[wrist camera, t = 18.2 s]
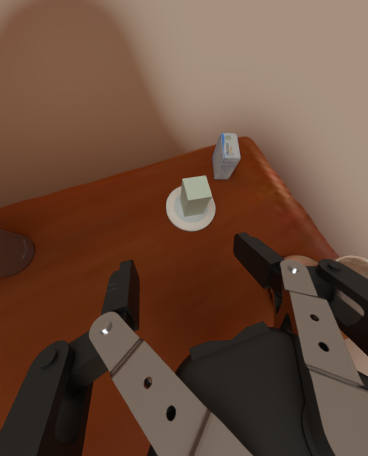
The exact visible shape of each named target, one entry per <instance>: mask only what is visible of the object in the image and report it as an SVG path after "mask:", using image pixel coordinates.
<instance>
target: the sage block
mask: <svg viewBox="0 0 368 456" xmlns="http://www.w3.org/2000/svg"><path fill="white" fill-rule="evenodd" d="M211 198H212V194H211V191H210V188H209V185H208V181H207V178H206V176H199V177H192V178H185V179H183V180H182V188H181V196H180V202H181V206H182V210H183V214H184V217H187V216H193V215H198V214H203V213H204V211H205V209H206V207H207V205H208V203H209V201H210V200H211Z"/></svg>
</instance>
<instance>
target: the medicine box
mask: <svg viewBox="0 0 368 456" xmlns="http://www.w3.org/2000/svg"><path fill="white" fill-rule="evenodd" d="M239 160H240V152H239V145H238V139H237V135H236V134H231V133H221V134H220V136H219V139H218V142H217V145H216V148H215V150H214V153H213V156H212V161H213V170H214V179H229V177H230V176H231V174H232V172H233V170H234V169H235V167H236V165H237V164H238V162H239Z"/></svg>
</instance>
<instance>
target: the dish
mask: <svg viewBox="0 0 368 456" xmlns="http://www.w3.org/2000/svg"><path fill="white" fill-rule="evenodd" d="M181 188H182V186H181V187H178V188H177V189H175V190H174V191H173V192H172V193H171V194H170V195H169V197H168V199H167V203H166V211H167V215H168V218H169V220H170V221H171V222H172V224H173V225H175V226H176V227H177V228H179V229H181V230H184V231H188V232H194V231H199V230H202V229H204V228H205V227H206V226H208V225H209V224H210V222H211V221H212V219H213V217H214V215H215V203H214V200H213V198H211V200H210V201H209V203H208V205H207V207H206V209H205V211H204V213H203V214H198V215H193V216H187V217H184V214H183V210H182V206H181V202H180V196H181Z"/></svg>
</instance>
